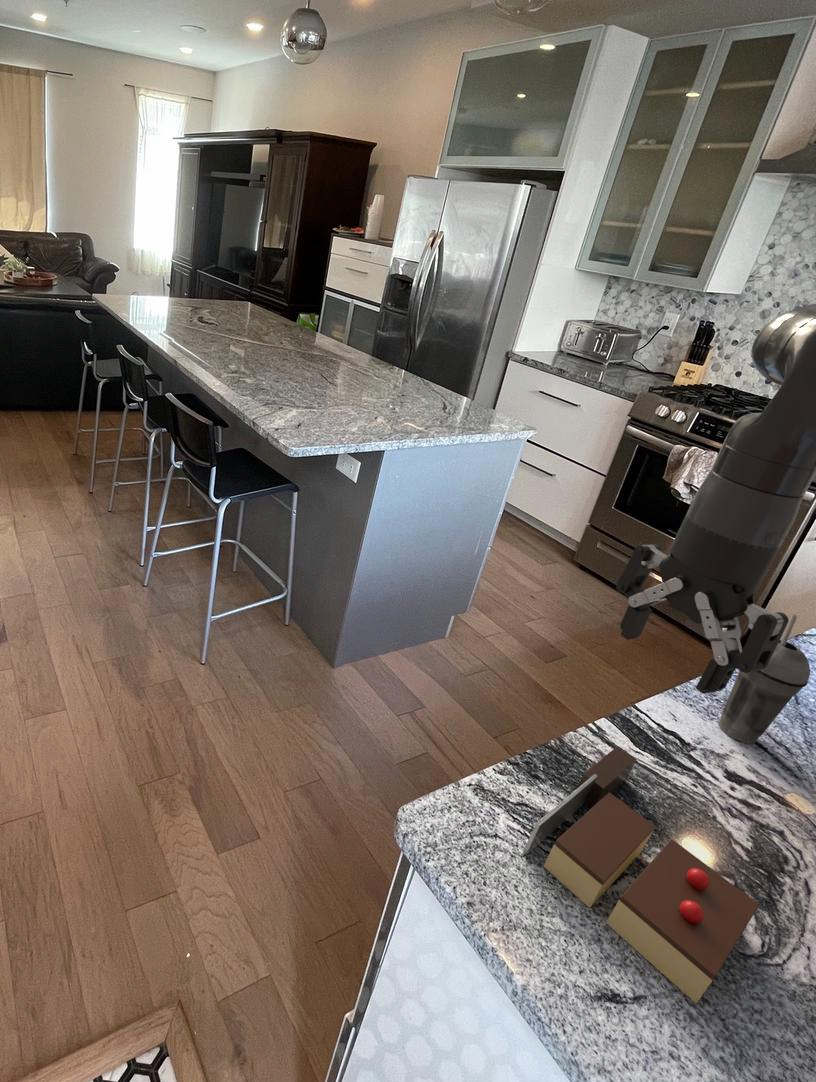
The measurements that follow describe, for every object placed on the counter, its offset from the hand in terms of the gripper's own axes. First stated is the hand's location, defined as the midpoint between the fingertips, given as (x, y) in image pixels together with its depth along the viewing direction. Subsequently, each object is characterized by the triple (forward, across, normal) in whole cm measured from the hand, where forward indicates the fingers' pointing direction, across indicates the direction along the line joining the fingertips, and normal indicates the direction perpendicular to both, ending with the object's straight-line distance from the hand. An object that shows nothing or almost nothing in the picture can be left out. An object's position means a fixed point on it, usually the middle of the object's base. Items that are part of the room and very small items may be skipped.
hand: (664, 662), depth 65 cm
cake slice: (+22, -5, +5) cm, 23 cm away
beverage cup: (+22, +4, -35) cm, 41 cm away
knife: (+22, 0, +2) cm, 22 cm away
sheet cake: (+22, -13, +3) cm, 25 cm away
